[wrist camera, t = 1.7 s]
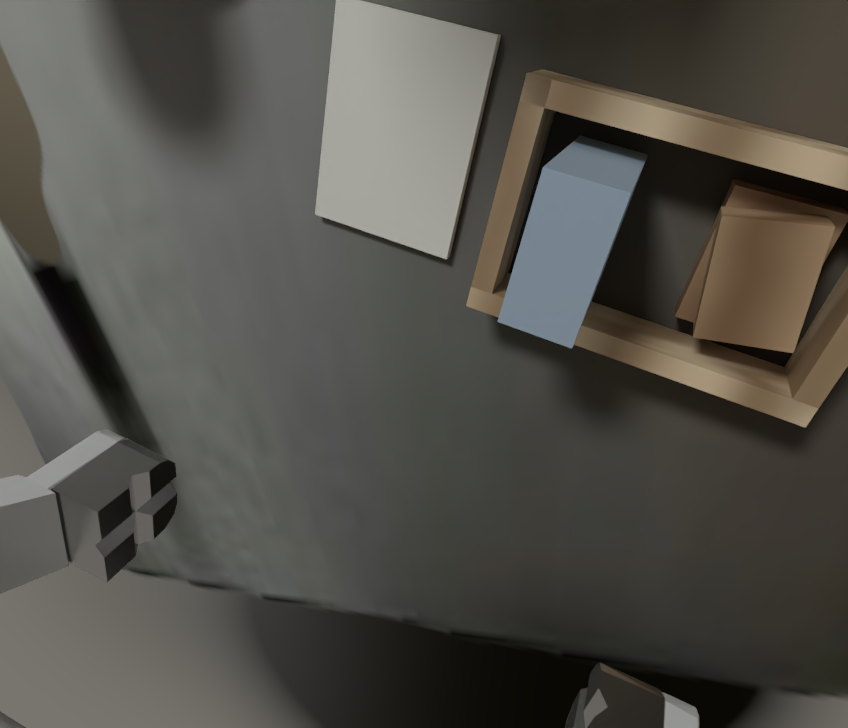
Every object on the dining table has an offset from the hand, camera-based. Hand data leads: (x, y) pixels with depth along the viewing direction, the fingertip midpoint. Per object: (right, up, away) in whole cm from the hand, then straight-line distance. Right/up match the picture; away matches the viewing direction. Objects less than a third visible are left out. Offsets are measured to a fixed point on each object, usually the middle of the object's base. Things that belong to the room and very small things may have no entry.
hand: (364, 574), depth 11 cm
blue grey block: (+10, +12, +22) cm, 27 cm away
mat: (0, +17, +24) cm, 29 cm away
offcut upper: (+17, +8, +19) cm, 27 cm away
